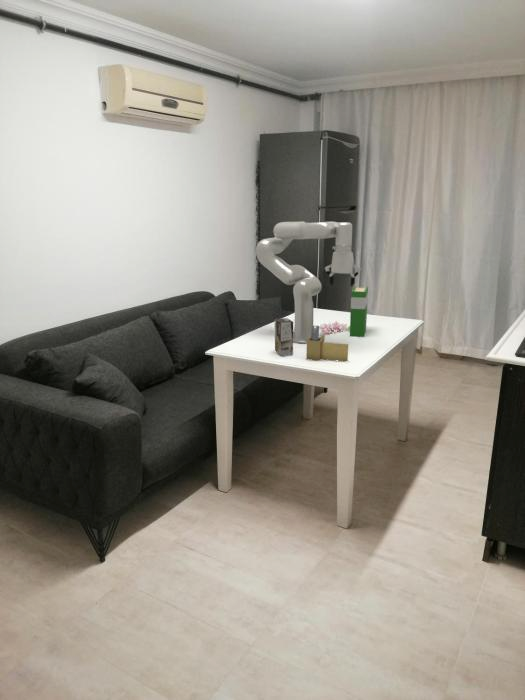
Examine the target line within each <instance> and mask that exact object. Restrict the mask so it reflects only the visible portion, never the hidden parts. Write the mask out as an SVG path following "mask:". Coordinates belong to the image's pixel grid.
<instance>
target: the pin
mask: <svg viewBox="0 0 525 700" xmlns="http://www.w3.org/2000/svg"><path fill="white" fill-rule="evenodd" d="M319 337H320V326H319V325H313V326H311V340H314V341H319Z"/></svg>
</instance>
